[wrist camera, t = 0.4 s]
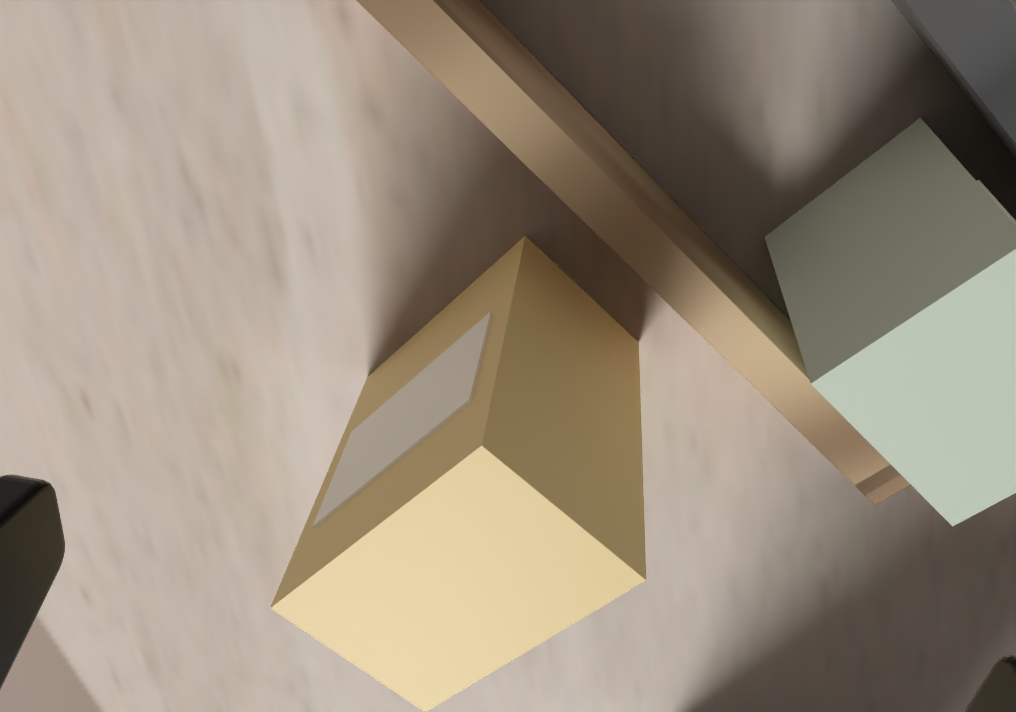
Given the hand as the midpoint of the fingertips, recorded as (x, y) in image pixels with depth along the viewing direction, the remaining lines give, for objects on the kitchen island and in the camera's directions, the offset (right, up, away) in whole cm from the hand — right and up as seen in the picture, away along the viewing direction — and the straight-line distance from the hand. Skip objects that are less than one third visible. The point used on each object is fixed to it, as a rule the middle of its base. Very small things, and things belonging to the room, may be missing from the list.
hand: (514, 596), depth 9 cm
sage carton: (+9, +5, +12) cm, 16 cm away
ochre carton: (0, +2, +15) cm, 15 cm away
